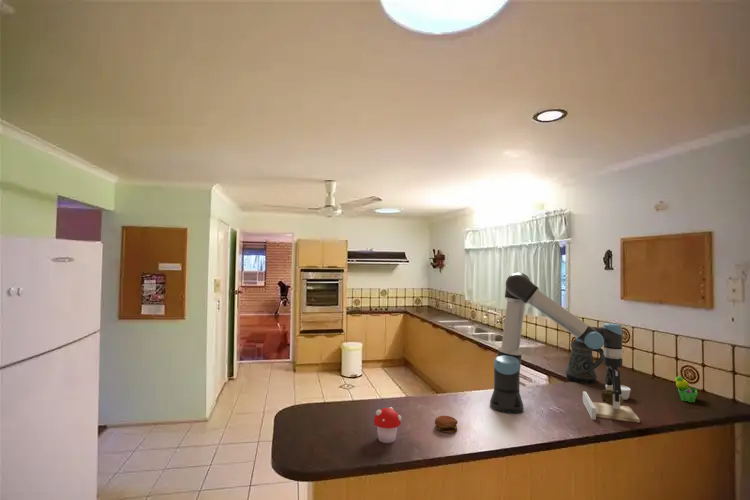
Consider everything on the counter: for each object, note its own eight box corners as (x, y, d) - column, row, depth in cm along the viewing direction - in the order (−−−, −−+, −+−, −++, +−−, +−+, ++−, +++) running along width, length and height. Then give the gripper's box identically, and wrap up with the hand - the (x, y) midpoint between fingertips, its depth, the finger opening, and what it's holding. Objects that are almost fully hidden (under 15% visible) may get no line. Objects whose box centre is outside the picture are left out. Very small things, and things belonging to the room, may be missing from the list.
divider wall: (591, 419, 172) (591, 408, 172) (582, 401, 194) (582, 391, 194) (595, 419, 171) (595, 408, 171) (586, 401, 194) (586, 391, 194)
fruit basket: (697, 404, 193) (697, 381, 193) (675, 400, 198) (675, 378, 199) (696, 398, 202) (696, 376, 202) (675, 394, 207) (674, 373, 208)
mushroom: (399, 433, 154) (400, 403, 155) (402, 446, 144) (402, 413, 144) (373, 433, 154) (373, 402, 154) (373, 446, 143) (374, 413, 144)
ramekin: (635, 399, 199) (635, 389, 199) (621, 401, 195) (621, 391, 195) (615, 392, 209) (615, 382, 209) (600, 394, 205) (600, 384, 205)
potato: (631, 408, 177) (631, 390, 177) (609, 410, 174) (609, 392, 174) (616, 401, 185) (616, 385, 185) (594, 404, 182) (594, 386, 182)
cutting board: (595, 416, 175) (595, 413, 175) (589, 404, 190) (589, 401, 190) (639, 422, 169) (639, 419, 169) (629, 409, 184) (629, 406, 184)
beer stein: (561, 375, 240) (561, 334, 241) (592, 375, 239) (592, 335, 240) (573, 383, 223) (573, 340, 224) (607, 384, 223) (607, 341, 223)
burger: (434, 423, 165) (435, 412, 165) (456, 425, 163) (457, 414, 164) (434, 433, 155) (434, 421, 155) (458, 435, 154) (458, 423, 154)
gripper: (629, 363, 168) (629, 414, 167) (615, 352, 190) (615, 396, 189) (609, 362, 170) (609, 411, 169) (598, 350, 193) (598, 394, 192)
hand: (613, 403), depth 179 cm, fingers closed on potato, 12 cm apart
